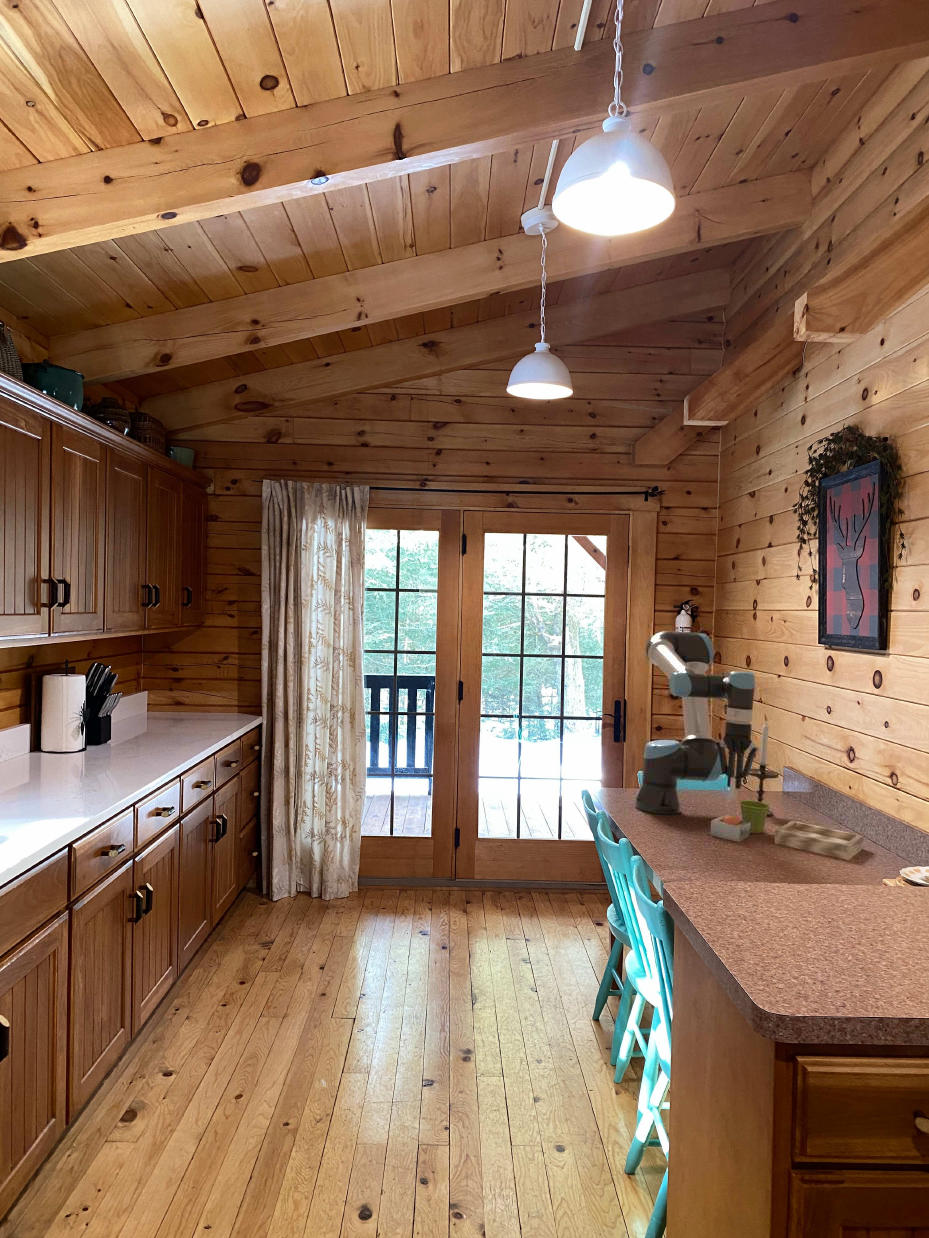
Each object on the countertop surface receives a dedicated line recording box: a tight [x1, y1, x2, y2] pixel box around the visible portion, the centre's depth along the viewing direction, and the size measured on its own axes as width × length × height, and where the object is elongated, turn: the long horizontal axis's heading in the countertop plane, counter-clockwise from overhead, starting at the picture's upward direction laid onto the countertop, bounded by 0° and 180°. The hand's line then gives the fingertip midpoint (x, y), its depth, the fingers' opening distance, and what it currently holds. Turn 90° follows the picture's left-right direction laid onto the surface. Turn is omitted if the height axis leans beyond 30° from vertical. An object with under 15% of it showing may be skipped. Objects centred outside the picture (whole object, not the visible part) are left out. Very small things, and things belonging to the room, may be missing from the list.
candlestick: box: [748, 713, 780, 818], centre depth 292 cm, size 11×11×35 cm
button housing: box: [709, 815, 751, 843], centre depth 259 cm, size 9×9×4 cm
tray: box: [774, 820, 864, 861], centre depth 254 cm, size 21×17×4 cm
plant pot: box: [739, 800, 771, 835], centre depth 266 cm, size 9×9×9 cm
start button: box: [722, 814, 741, 825], centre depth 259 cm, size 5×5×3 cm
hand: (733, 798), depth 258 cm, fingers closed
